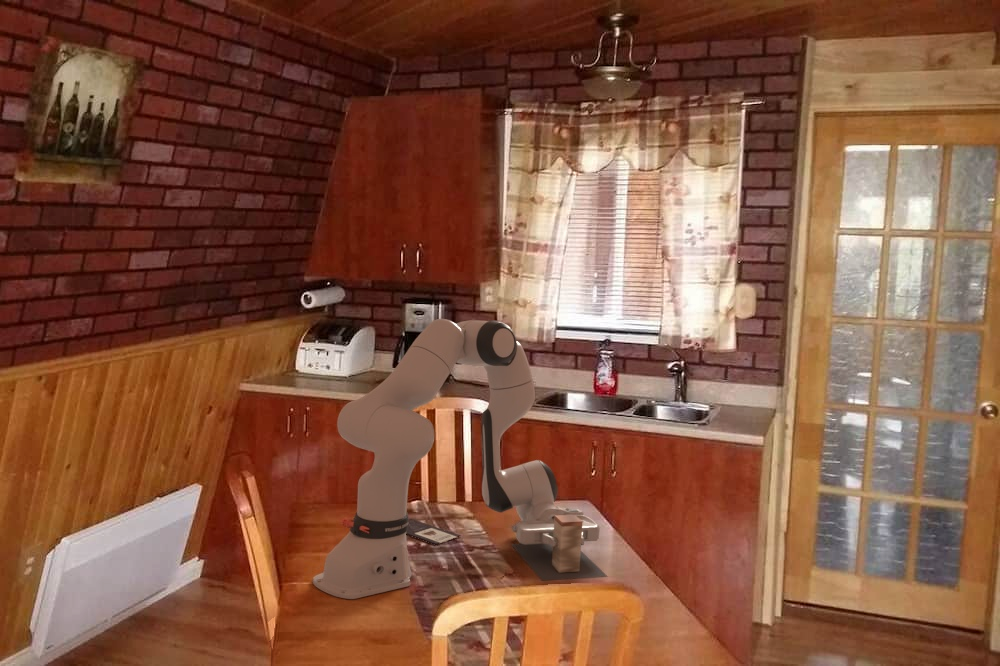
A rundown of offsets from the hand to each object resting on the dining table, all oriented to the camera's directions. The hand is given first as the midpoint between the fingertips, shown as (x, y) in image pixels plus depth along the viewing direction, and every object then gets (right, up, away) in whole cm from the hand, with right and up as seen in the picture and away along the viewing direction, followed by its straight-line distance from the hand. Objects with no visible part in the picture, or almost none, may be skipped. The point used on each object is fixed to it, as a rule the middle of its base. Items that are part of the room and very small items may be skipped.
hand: (568, 542), depth 212 cm
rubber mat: (-2, -6, +7) cm, 10 cm away
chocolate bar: (-36, -3, +24) cm, 43 cm away
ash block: (-1, -6, +2) cm, 6 cm away
